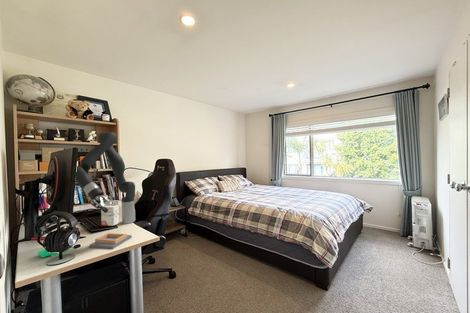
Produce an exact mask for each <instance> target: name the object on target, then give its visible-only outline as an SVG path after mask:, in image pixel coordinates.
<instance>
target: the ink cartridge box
mask: <svg viewBox="0 0 470 313" xmlns="http://www.w3.org/2000/svg"><path fill="white" fill-rule="evenodd" d="M106 202H107V205H105V204H104V206H105V207H106V208H107V210H108V211H107V213H105V212H103V211H102V209H100V210H101V211H100V212H101V214H100V216H101V226H111V227H113V226H116V225H118V224H119V223H120V220H119V219H120V217H119V215H120V214H119V210H120V209H119V200H117V199H116V200H113V199H112V200H107V201H106ZM110 202H113V203H110Z"/></svg>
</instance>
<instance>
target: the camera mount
mask: <svg viewBox="0 0 470 313" xmlns="http://www.w3.org/2000/svg"><path fill="white" fill-rule="evenodd" d="M37 255H38V256H39V257H41V258H45V257H49V256H51V257H53V256H56V255H59V254H58V253H49V252H47V251H46V250H45V248H44V249H41V250H38V251H37Z"/></svg>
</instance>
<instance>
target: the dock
mask: <svg viewBox="0 0 470 313" xmlns="http://www.w3.org/2000/svg"><path fill="white" fill-rule="evenodd" d="M132 237H133V236H132V234H131V235H130V234H127V233H118V232H117V233H115V232H114V233H113V232H107V233H105V234H103V235H101V236H99V237H97V238H95V239H94V242H92V243H90V244H89V248H96V249H97V248H98V249H115V248H117V247H118V246H120V245H122V244H124V243H125V242H126V241H127V242H128V241H129V240H130V239H132Z"/></svg>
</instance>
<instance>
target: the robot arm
mask: <svg viewBox="0 0 470 313" xmlns="http://www.w3.org/2000/svg"><path fill="white" fill-rule="evenodd" d="M117 141H118V135H117V133H115V132H114V131H103V132H100V133H99V134H98V142H99V144H98V145H97V146H96V147H94V148H92V149H91V150H90V151H89V152H87V153H86V154H85V156H84V157H82V159H81V160H80V161H79V165H76V166H77V172H76V180H75V181H76V182H77V183H78V184H79V186H80V188H81V189H83V191H84V193H85V194H86V195H87V196H88V198H90V200H91V201H90V203H89V204H90V205H92V206H93V207H94V208H95V209H97V210H99V209H100V210H101V209H102V211H103V212H105V213H107V211H108V210H107V208H106V207H105V205H107V202H106V201H107V200H113V198H112V197H111V195H107V196H106V195H105V193H104V191H103V190H102V189H101V187H100V186H99V185H98V184H97V183H95V181H94V180H93V179H92V178H91V177H90V176H89V175H88V173H89V172H90V169H91V168H92V166H93V165H94V164H95V163H96V162H97V161H98V159H99V158H100V157H101V156H102V155H103V154H104V153H105V156H106V158H107V160H108V162H109V165H110V167H111V170H112V171H113V172H112V173H113V175H114V178H115V181H116V184H117V188H118V191H119V192H120V193H124V194H125V196H124V197H122V198H121V223H122V224H124V225H127V224H129V225H130V224H132V223H134V222H135V221H136V209H135V199H136V198H135V197H136V184H135V182H133V181H127V180H126V178H125V175H124V174H125V169H126V165H125V161H124V160H123V157H122V156H121V155H120V153H118V151H117V150H116V149H115V148H114V145H115V143H117ZM110 203H114V202H110Z"/></svg>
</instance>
